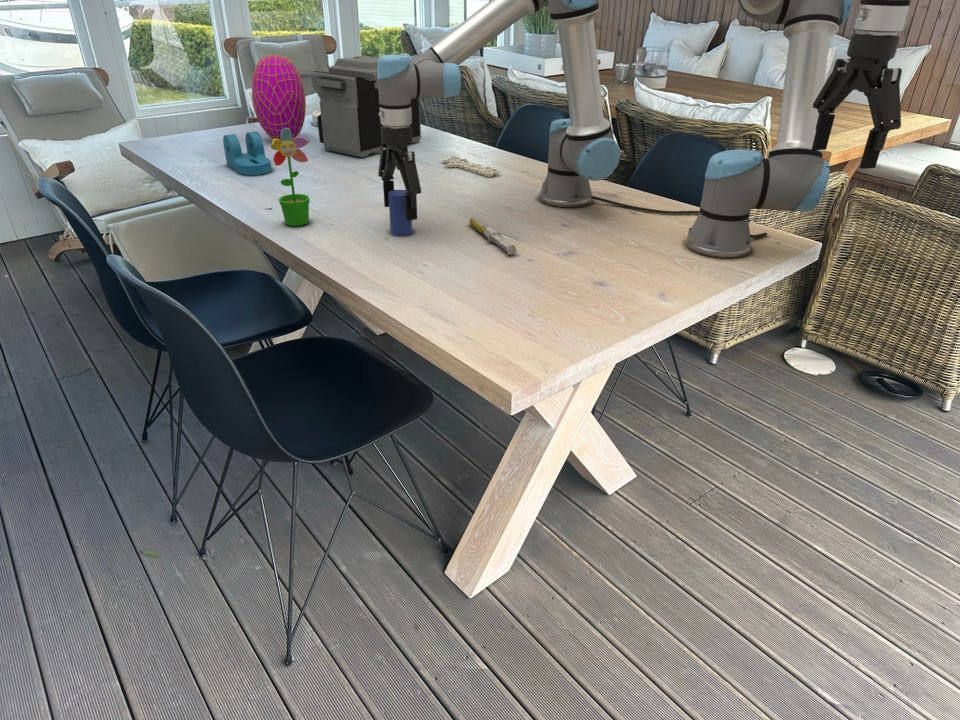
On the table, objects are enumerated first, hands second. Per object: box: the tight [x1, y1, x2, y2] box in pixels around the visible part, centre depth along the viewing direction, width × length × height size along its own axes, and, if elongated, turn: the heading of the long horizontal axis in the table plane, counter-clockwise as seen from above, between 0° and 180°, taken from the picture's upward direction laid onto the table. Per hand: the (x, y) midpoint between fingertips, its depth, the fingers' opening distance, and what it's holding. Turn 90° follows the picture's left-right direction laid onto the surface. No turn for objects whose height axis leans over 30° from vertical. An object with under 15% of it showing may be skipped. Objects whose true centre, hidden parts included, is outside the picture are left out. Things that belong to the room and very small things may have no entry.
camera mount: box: [222, 131, 272, 176], centre depth 226 cm, size 18×10×10 cm, turn 35°
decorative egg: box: [251, 54, 307, 141], centre depth 257 cm, size 19×19×30 cm
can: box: [388, 189, 413, 237], centre depth 176 cm, size 6×6×10 cm
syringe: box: [469, 216, 518, 256], centre depth 174 cm, size 25×4×3 cm, turn 21°
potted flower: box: [270, 128, 310, 227], centre depth 177 cm, size 9×8×25 cm
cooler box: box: [310, 55, 422, 159], centre depth 250 cm, size 37×22×30 cm, turn 144°
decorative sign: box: [442, 155, 499, 178], centre depth 232 cm, size 26×1×10 cm
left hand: (400, 212), depth 176 cm, fingers open, 12 cm apart
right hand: (841, 158), depth 128 cm, fingers open, 13 cm apart
